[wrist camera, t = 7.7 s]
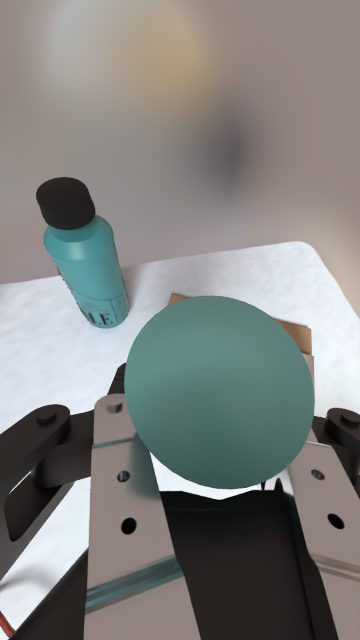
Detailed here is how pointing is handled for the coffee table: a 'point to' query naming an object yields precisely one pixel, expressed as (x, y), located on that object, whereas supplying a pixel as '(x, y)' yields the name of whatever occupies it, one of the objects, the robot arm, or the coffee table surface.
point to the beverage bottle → (83, 251)
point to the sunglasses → (6, 626)
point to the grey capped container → (219, 392)
